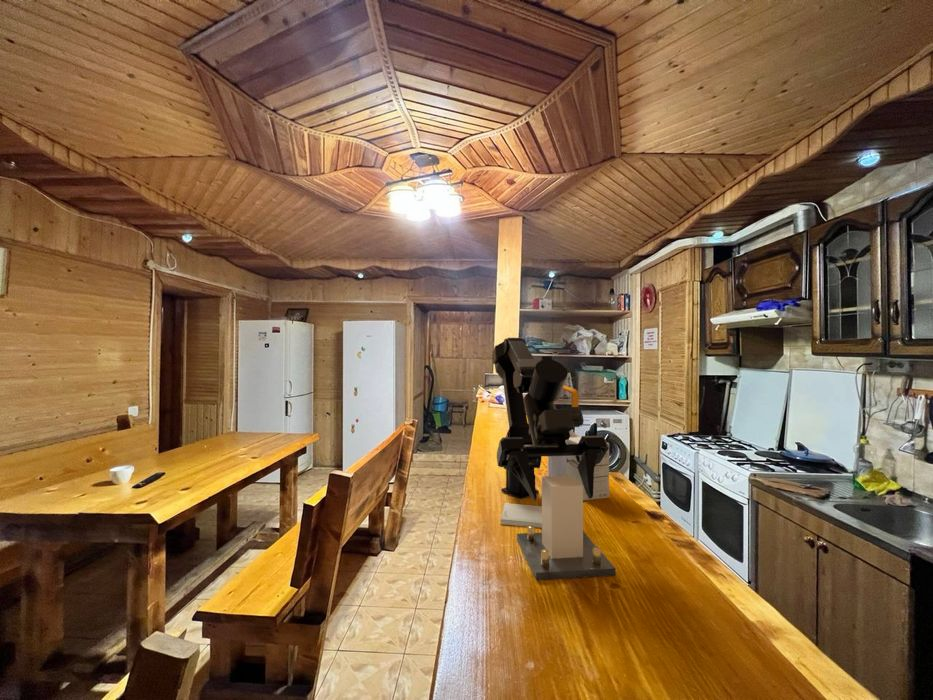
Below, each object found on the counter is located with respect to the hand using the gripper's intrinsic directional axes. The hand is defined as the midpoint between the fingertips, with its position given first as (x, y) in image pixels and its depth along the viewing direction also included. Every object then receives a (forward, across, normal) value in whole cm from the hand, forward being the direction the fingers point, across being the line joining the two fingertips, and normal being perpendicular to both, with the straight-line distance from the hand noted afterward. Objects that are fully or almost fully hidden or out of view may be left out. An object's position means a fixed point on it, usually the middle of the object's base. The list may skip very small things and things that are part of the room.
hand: (563, 498), depth 60 cm
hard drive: (-3, -1, +18) cm, 18 cm away
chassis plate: (+6, 0, +7) cm, 10 cm away
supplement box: (-12, +16, +26) cm, 33 cm away
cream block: (+6, 0, +6) cm, 9 cm away
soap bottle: (-20, +14, +34) cm, 42 cm away
